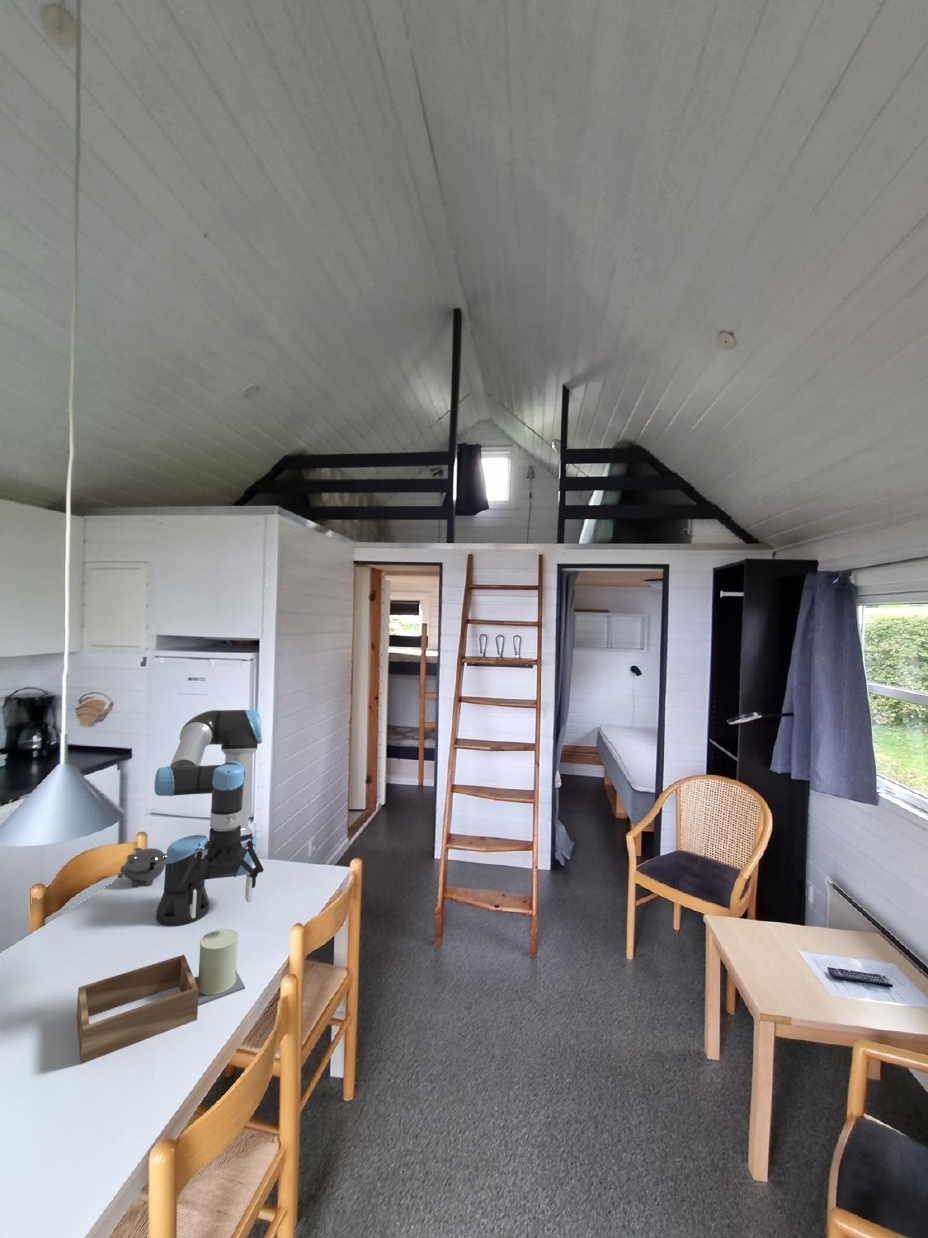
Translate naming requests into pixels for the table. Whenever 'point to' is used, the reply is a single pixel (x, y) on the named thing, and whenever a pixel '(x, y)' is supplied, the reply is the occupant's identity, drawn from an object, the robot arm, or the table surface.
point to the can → (217, 961)
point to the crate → (139, 1020)
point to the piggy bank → (144, 865)
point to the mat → (208, 998)
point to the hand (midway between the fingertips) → (221, 908)
